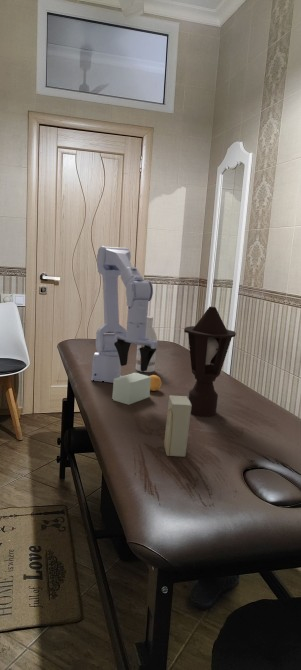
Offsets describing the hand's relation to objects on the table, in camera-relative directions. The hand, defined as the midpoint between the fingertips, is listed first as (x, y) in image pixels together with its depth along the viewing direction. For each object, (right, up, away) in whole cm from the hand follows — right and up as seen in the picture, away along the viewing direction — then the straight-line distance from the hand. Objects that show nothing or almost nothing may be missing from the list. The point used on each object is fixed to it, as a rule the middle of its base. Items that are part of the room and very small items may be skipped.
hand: (133, 368), depth 139 cm
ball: (+6, -6, +11) cm, 14 cm away
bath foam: (+3, -4, +35) cm, 36 cm away
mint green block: (-1, -9, +2) cm, 9 cm away
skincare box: (+11, -17, -33) cm, 38 cm away
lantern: (+20, -12, -5) cm, 24 cm away
